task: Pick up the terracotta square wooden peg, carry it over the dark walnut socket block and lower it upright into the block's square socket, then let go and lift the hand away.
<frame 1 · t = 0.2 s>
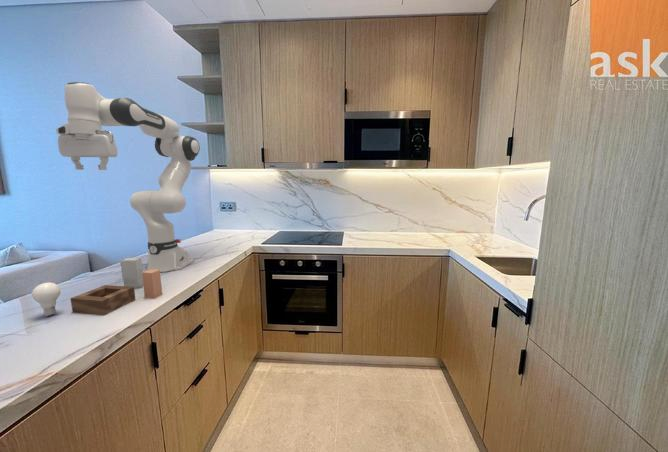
hand: (91, 169, 99), 47 cm above the counter, tool pointing down, fingers open, 8 cm apart
walnut socket block: (105, 305, 95), on the counter
terracotta peg: (153, 296, 104), on the counter
lightbulb: (50, 315, 88), on the counter
skincare box: (134, 287, 113), on the counter
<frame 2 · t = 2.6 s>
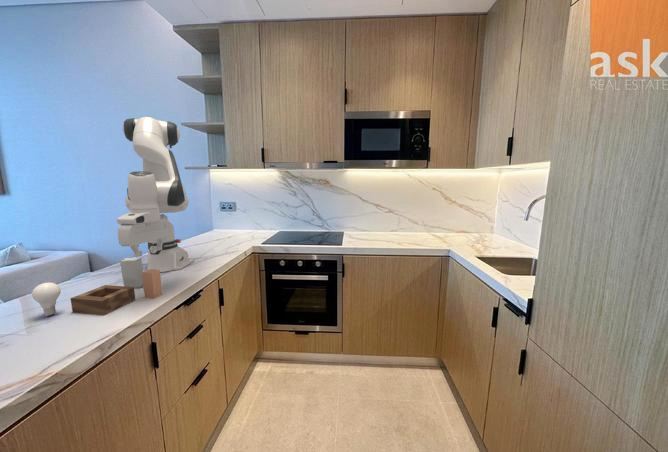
hand: (149, 253, 101), 17 cm above the counter, tool pointing down, fingers open, 8 cm apart
nothing on the counter moved.
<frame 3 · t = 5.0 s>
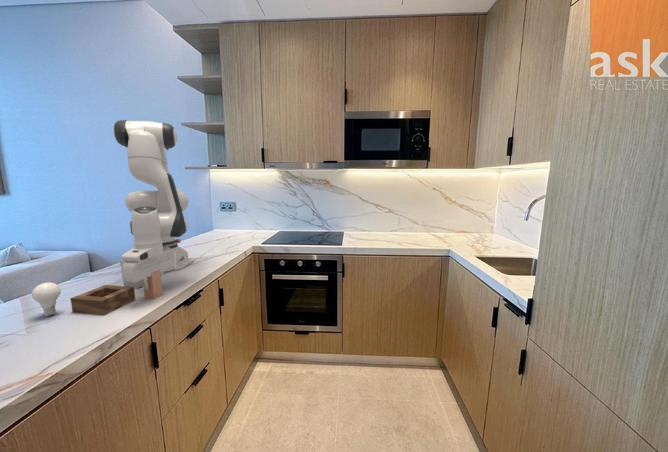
hand: (152, 285, 103), 4 cm above the counter, tool pointing down, fingers closed on terracotta peg, 4 cm apart
terracotta peg: (153, 296, 104), on the counter, touching gripper
everything else where it was.
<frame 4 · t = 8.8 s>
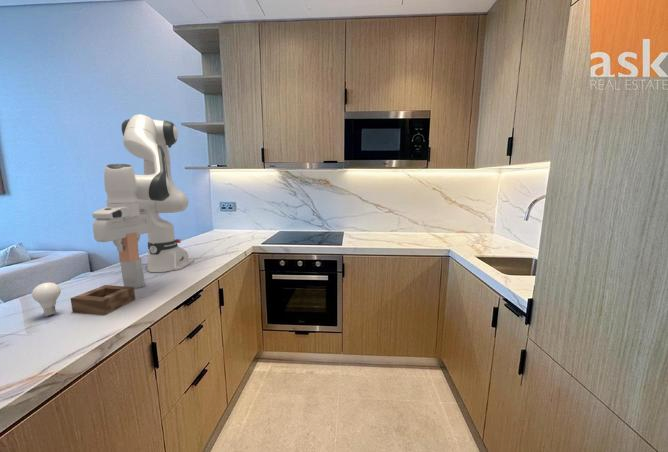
hand: (128, 249, 97), 19 cm above the counter, tool pointing down, fingers closed on terracotta peg, 4 cm apart
terracotta peg: (129, 260, 97), point 15 cm above the counter, touching gripper
everything else where it was.
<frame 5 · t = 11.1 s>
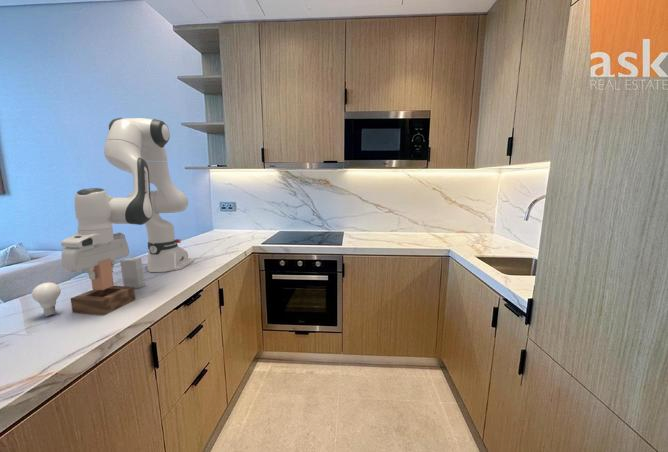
hand: (101, 276, 93), 11 cm above the counter, tool pointing down, fingers closed on terracotta peg, 4 cm apart
terracotta peg: (103, 287, 94), point 7 cm above the counter, touching gripper
everything else where it was.
when the fingers open (7 cm above the counter, at t = 13.0 s): terracotta peg drops 1 cm, resting on walnut socket block.
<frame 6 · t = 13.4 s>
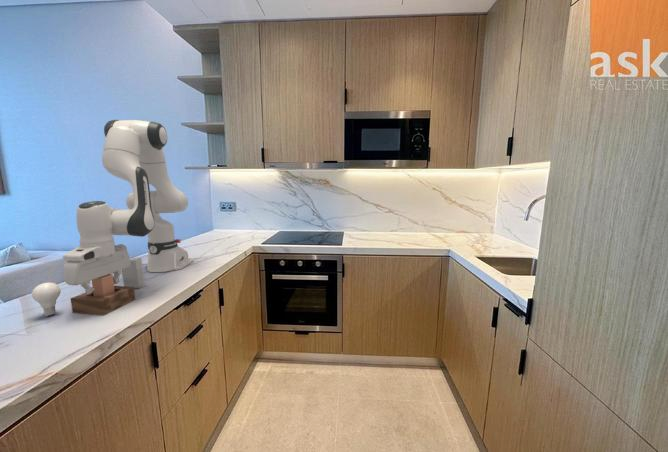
hand: (103, 288, 94), 7 cm above the counter, tool pointing down, fingers open, 8 cm apart
terracotta peg: (105, 303, 95), point 1 cm above the counter, touching walnut socket block
everything else where it was.
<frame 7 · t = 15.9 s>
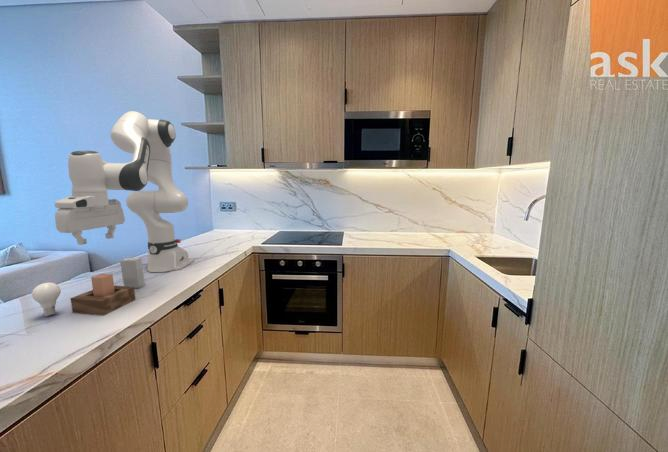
hand: (96, 241, 92), 23 cm above the counter, tool pointing down, fingers open, 8 cm apart
nothing on the counter moved.
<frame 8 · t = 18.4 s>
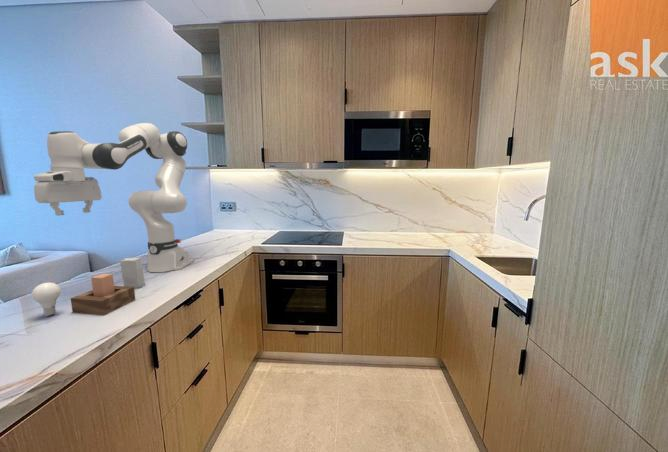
hand: (74, 213, 102), 31 cm above the counter, tool pointing down, fingers open, 8 cm apart
nothing on the counter moved.
at the end: terracotta peg 0.1 cm off-centre on the walnut socket block, point 1.0 cm above the walnut socket block's base; terracotta peg tilted 0°; the gripper is holding nothing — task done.
